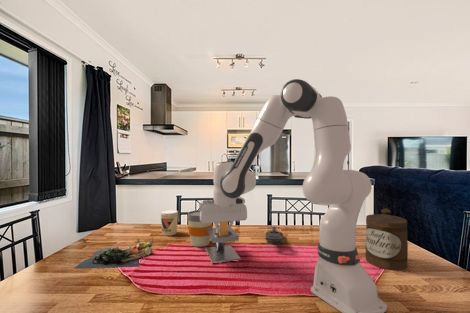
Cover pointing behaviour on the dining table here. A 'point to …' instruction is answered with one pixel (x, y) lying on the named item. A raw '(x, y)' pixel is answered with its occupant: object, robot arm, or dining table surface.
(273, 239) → the zipper pull
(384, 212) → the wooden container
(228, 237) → the grey finned stand
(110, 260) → the plated dish
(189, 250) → the dining table surface
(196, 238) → the reusable coffee cup
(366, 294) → the robot arm
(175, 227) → the coffee cup
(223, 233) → the wedge pin
